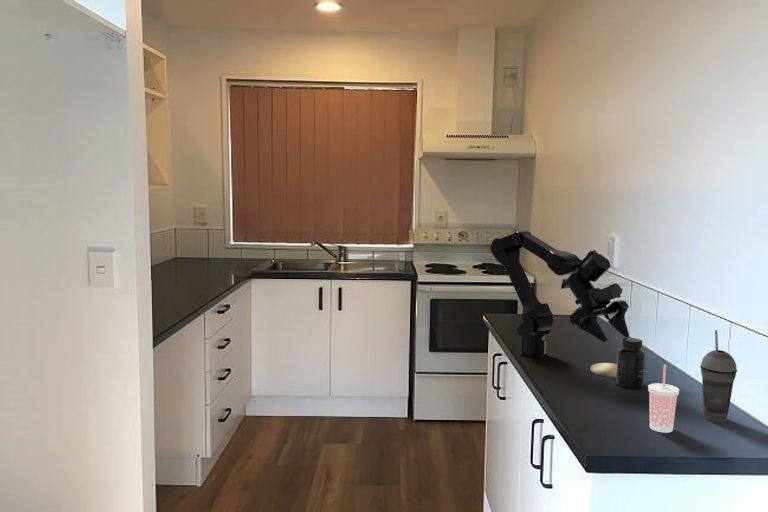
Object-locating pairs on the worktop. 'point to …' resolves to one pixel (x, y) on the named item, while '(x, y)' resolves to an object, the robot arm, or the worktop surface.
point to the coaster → (605, 369)
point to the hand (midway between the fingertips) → (617, 339)
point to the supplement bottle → (631, 364)
